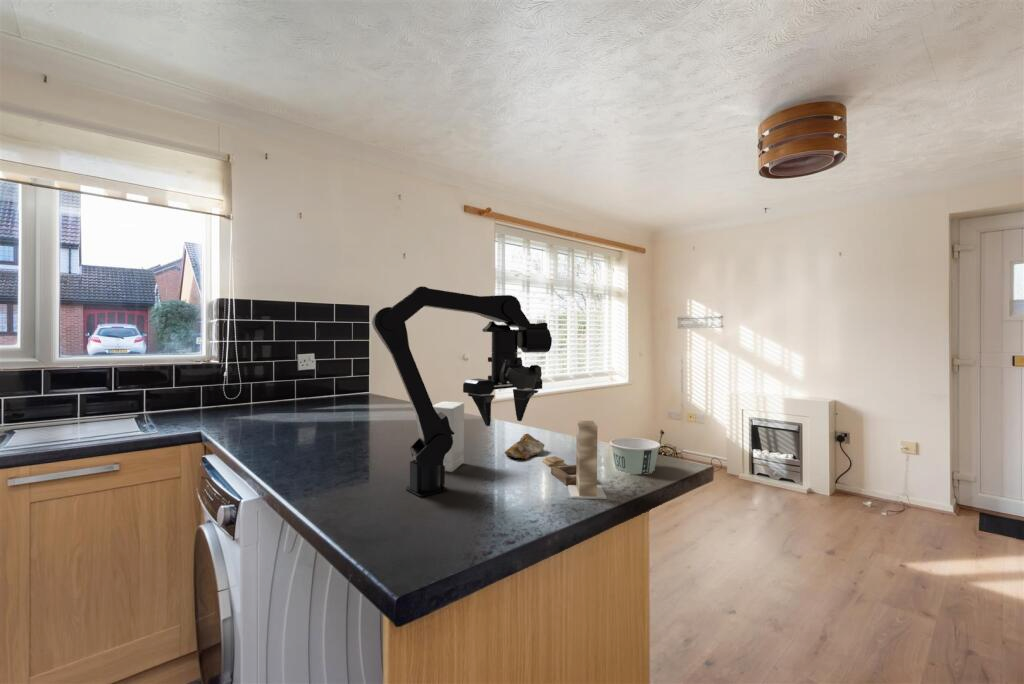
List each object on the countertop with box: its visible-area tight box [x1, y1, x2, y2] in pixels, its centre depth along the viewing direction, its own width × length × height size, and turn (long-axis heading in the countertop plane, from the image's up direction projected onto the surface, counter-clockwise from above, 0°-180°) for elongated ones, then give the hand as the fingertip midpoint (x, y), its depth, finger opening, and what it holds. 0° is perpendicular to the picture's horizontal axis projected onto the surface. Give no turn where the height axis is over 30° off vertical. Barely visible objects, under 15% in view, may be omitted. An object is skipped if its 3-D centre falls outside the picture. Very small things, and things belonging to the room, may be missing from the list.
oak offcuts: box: [542, 455, 565, 468], centre depth 118 cm, size 4×5×1 cm
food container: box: [609, 437, 662, 475], centre depth 114 cm, size 12×12×7 cm
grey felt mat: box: [567, 485, 607, 500], centre depth 97 cm, size 7×7×1 cm
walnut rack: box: [550, 464, 576, 486], centre depth 107 cm, size 7×9×2 cm
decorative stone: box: [504, 433, 545, 461], centre depth 127 cm, size 10×4×15 cm
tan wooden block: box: [575, 420, 598, 496], centre depth 96 cm, size 4×6×14 cm, turn 178°
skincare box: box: [432, 401, 465, 473], centre depth 115 cm, size 8×7×16 cm
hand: (504, 423), depth 103 cm, fingers open, 9 cm apart
